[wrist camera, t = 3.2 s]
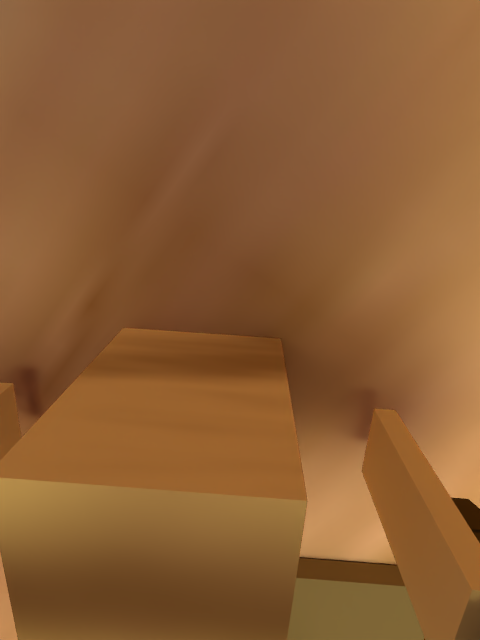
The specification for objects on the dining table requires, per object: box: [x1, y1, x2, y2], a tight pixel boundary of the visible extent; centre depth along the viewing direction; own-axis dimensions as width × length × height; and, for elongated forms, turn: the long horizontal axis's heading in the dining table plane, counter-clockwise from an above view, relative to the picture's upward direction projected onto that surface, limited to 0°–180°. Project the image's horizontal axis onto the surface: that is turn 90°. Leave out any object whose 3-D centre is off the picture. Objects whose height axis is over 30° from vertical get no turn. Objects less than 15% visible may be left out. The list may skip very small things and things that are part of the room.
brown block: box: [0, 328, 307, 640], centre depth 12 cm, size 6×6×8 cm
